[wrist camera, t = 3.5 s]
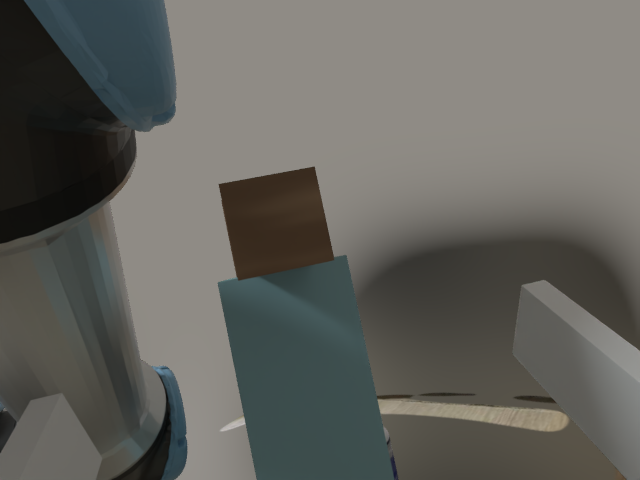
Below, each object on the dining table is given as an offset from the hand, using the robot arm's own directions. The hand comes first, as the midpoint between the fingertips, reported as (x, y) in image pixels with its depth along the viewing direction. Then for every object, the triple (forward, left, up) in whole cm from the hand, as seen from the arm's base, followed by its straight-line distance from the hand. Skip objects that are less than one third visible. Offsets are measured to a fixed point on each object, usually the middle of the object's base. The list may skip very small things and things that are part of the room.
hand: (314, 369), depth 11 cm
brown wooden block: (-13, +7, +3) cm, 15 cm away
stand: (-18, +10, -27) cm, 34 cm away
